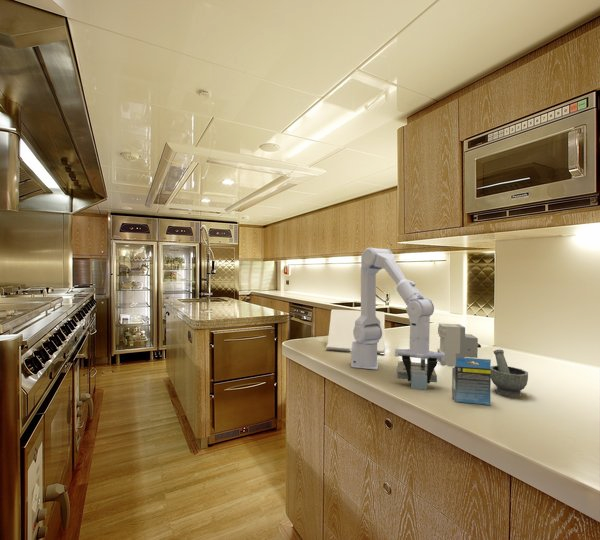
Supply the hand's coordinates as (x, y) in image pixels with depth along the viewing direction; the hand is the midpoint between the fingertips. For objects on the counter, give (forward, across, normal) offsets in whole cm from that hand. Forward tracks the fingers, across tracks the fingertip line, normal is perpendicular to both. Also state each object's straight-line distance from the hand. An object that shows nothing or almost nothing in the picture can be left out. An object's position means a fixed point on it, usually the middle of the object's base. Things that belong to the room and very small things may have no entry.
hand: (418, 381), depth 101 cm
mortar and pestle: (+2, +25, +3) cm, 25 cm away
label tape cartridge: (+2, +13, -8) cm, 15 cm away
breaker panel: (+1, 0, +13) cm, 13 cm away
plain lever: (-1, +2, +16) cm, 16 cm away
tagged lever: (-1, -2, +10) cm, 10 cm away
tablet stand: (+2, -24, +42) cm, 49 cm away
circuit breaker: (+2, +17, +32) cm, 36 cm away
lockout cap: (+1, 0, 0) cm, 1 cm away
